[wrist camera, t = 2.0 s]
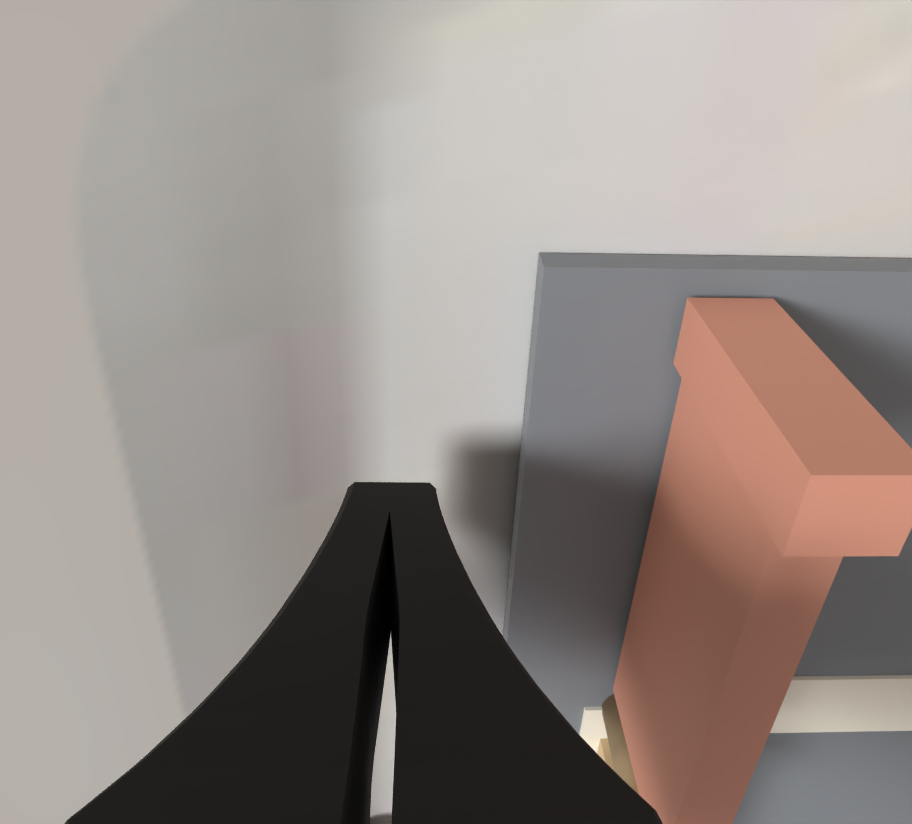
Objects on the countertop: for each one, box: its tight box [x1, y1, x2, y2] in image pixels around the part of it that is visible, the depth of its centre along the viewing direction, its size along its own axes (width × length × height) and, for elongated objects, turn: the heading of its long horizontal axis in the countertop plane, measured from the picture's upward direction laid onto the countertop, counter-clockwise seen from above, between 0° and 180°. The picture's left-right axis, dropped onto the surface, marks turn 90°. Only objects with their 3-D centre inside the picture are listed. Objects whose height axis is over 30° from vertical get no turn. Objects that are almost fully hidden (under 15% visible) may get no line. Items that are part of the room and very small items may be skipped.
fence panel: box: [613, 297, 912, 824], centre depth 13 cm, size 10×1×5 cm, turn 178°
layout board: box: [503, 253, 912, 824], centre depth 17 cm, size 17×14×1 cm
